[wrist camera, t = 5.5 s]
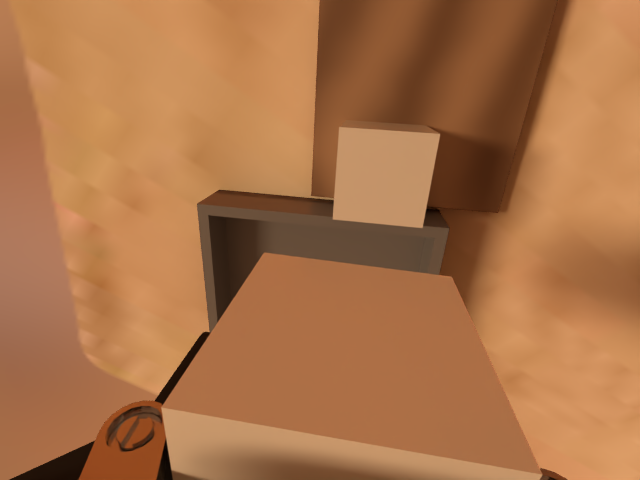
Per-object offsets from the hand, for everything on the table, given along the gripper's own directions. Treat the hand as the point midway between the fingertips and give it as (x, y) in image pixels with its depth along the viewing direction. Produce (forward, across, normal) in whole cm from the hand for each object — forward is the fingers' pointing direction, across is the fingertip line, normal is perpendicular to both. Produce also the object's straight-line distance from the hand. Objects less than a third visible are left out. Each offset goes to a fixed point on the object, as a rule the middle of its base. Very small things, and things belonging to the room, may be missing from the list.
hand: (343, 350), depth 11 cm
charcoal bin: (+18, +2, +10) cm, 21 cm away
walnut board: (+18, -3, -7) cm, 19 cm away
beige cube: (+17, -1, -3) cm, 17 cm away
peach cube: (0, 0, 0) cm, 0 cm away
